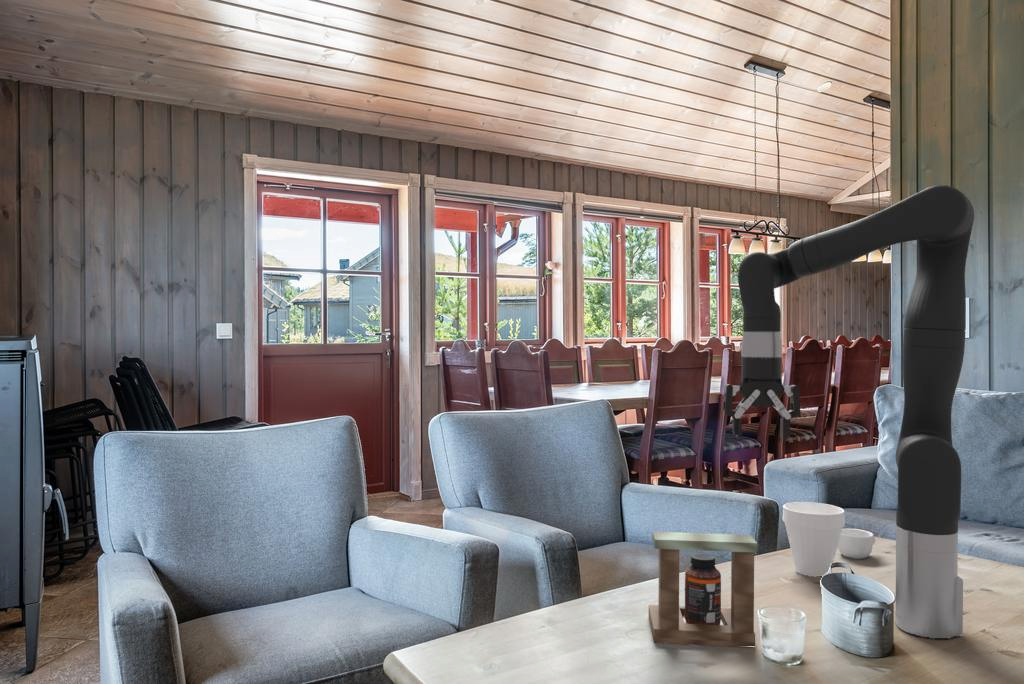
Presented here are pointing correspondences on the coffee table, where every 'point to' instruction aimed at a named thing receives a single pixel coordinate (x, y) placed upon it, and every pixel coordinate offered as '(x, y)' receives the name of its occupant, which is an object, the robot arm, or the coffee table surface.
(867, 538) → the teacup
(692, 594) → the supplement bottle
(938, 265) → the robot arm
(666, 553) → the socket stand
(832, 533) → the white flower pot
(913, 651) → the coffee table surface
